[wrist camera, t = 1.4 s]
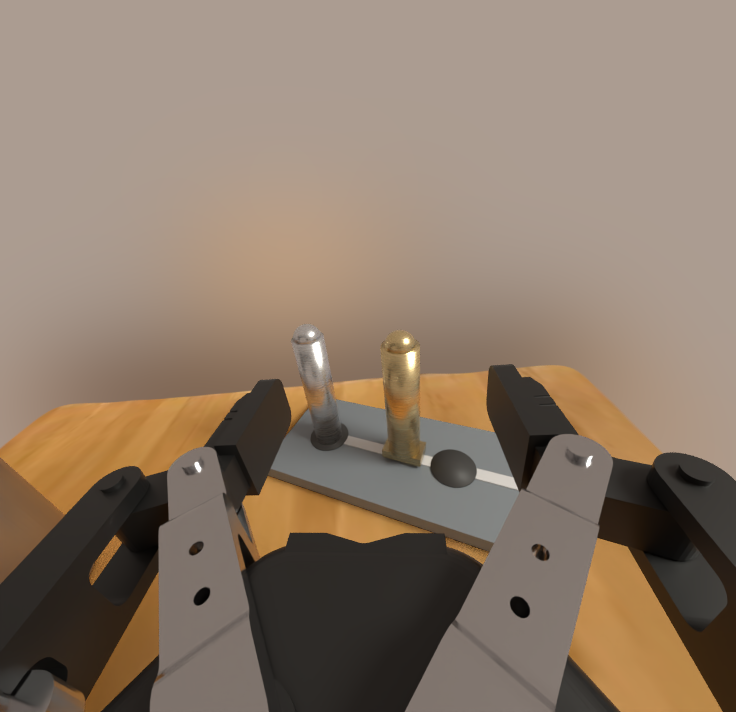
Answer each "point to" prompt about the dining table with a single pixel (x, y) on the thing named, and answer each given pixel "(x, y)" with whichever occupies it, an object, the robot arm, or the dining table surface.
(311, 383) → the fixed leg
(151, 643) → the dining table surface
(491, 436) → the board
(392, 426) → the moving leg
